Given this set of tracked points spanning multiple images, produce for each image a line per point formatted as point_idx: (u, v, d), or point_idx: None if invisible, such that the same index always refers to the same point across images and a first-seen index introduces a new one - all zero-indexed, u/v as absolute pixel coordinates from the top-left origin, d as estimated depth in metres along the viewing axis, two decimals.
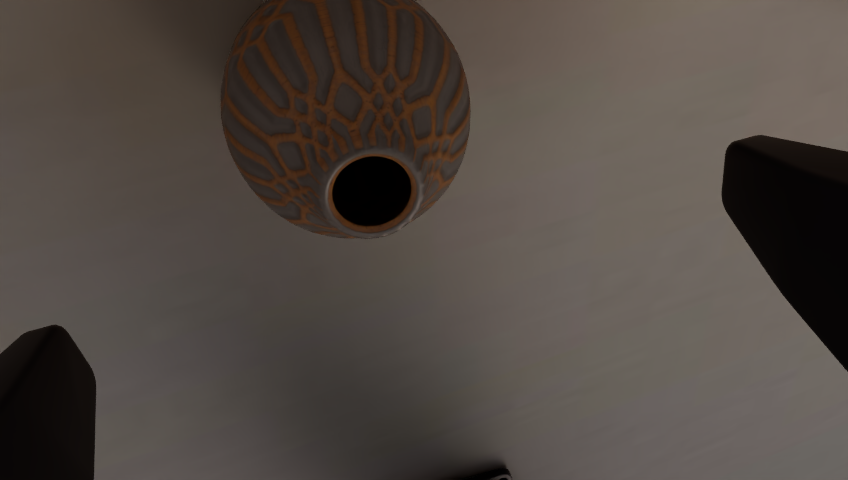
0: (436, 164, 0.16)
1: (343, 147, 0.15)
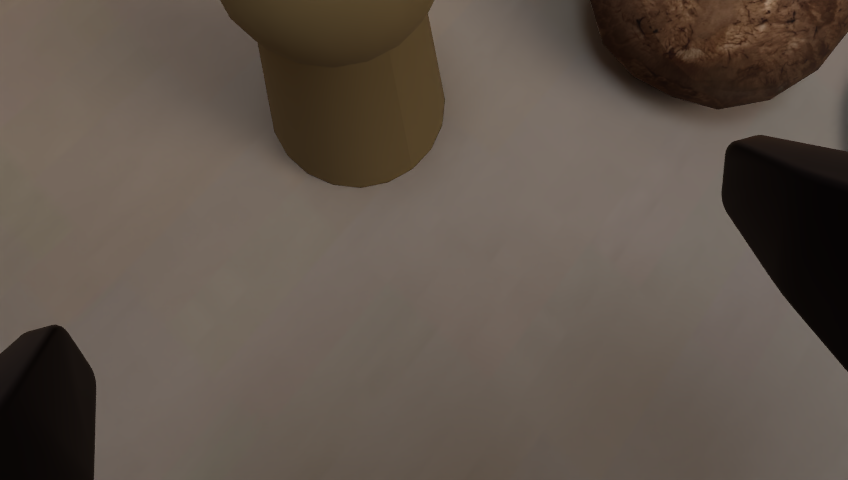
0: None
1: None
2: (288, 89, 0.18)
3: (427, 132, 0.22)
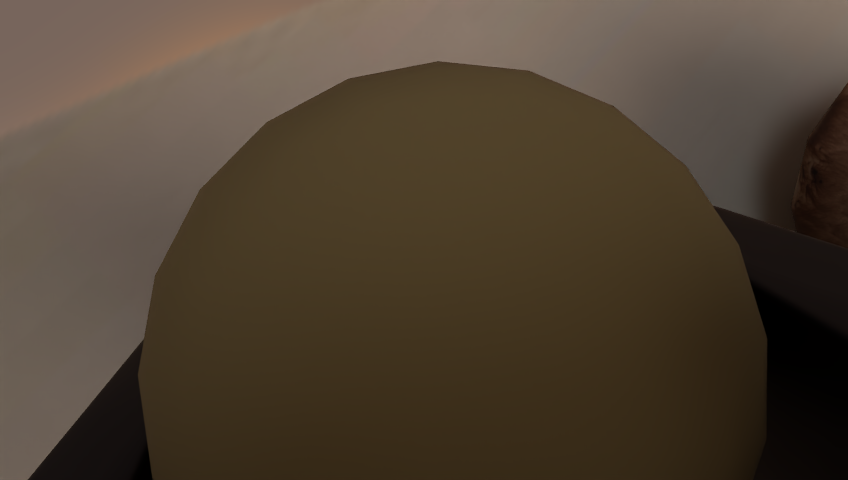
0: None
1: None
2: None
3: None
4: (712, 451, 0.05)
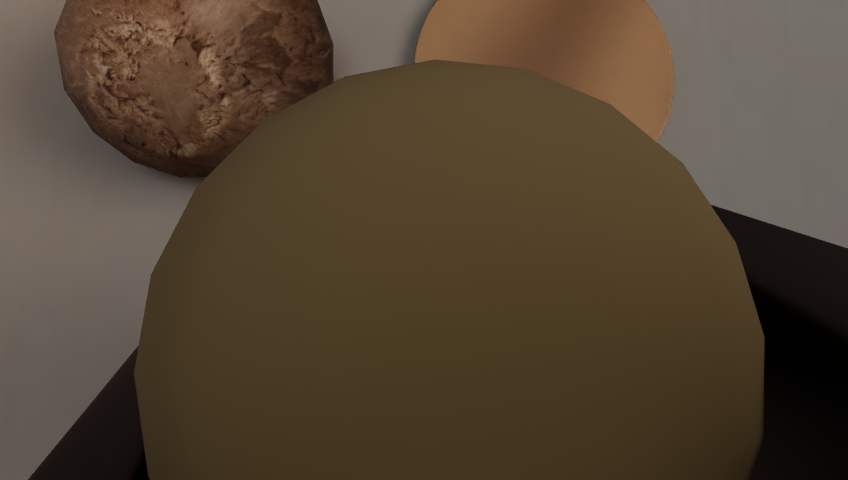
0: None
1: None
2: None
3: None
4: (708, 449, 0.05)
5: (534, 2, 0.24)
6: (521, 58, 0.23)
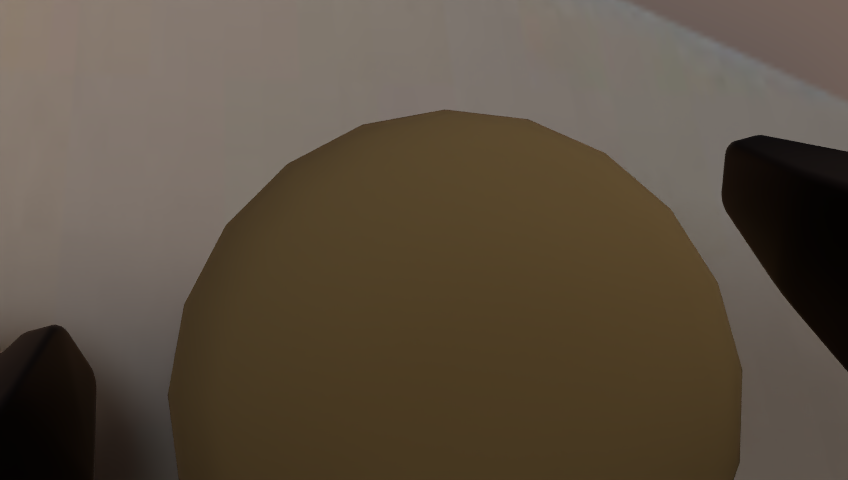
0: None
1: None
2: None
3: None
4: (686, 475, 0.05)
5: None
6: None
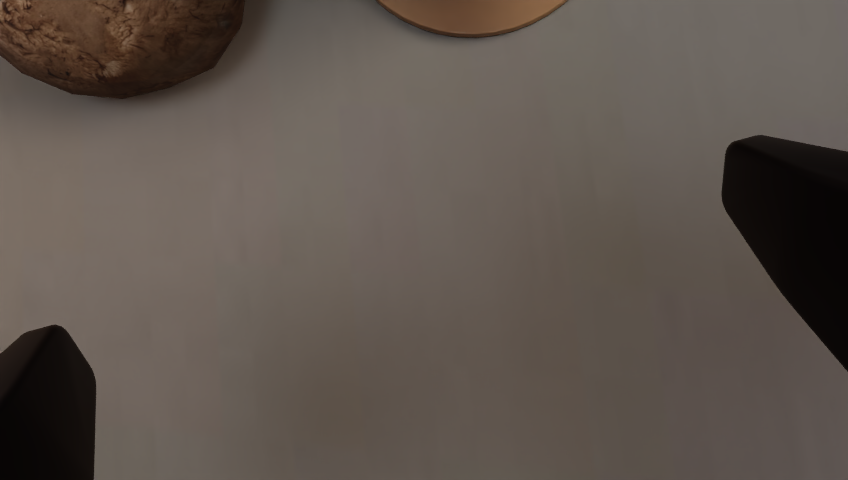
0: None
1: None
2: None
3: None
4: None
5: None
6: None
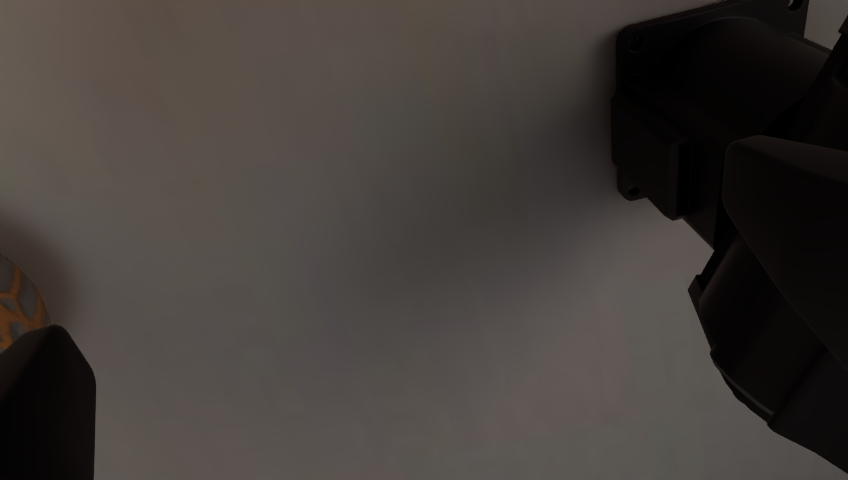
0: None
1: None
2: None
3: None
4: None
5: None
6: None
